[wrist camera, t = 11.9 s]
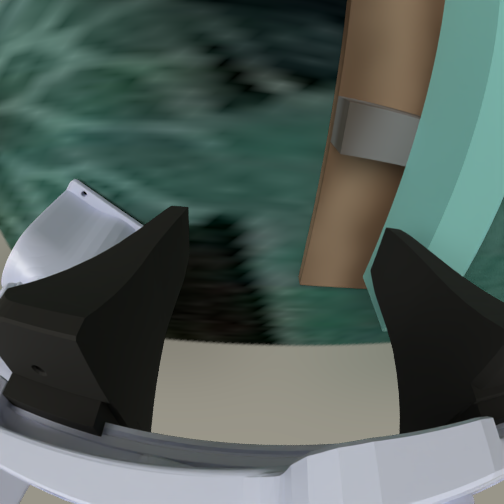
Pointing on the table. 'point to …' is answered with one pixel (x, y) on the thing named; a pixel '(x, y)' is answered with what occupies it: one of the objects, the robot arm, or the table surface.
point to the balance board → (360, 181)
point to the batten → (456, 142)
